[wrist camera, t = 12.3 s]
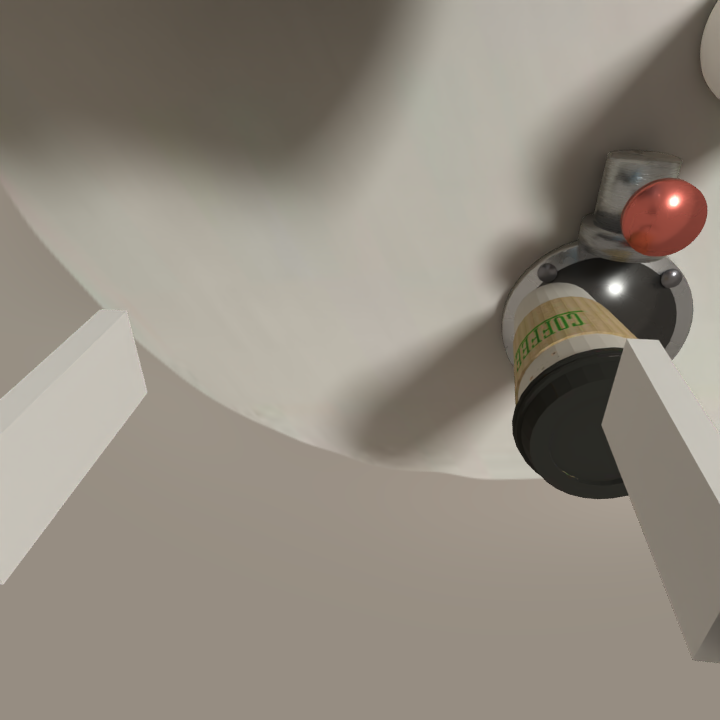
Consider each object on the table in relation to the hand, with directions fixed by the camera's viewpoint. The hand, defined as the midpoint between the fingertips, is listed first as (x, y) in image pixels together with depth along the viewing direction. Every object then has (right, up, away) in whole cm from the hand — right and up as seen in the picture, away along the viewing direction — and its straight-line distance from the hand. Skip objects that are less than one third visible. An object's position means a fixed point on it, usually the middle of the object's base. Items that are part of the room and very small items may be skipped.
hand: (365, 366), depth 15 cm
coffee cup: (+15, +3, +29) cm, 32 cm away
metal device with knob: (+18, +6, +29) cm, 34 cm away
